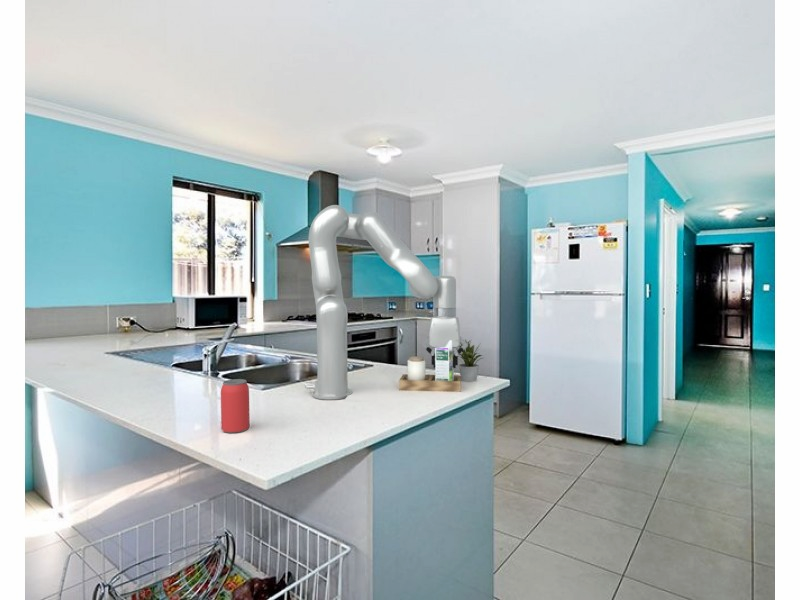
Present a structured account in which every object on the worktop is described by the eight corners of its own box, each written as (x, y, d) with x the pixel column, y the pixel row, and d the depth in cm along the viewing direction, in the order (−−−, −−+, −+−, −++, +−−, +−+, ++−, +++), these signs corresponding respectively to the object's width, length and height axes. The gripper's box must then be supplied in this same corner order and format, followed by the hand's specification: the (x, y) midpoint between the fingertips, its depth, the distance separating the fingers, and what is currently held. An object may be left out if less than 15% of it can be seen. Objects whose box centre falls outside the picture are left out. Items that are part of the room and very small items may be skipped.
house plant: (437, 380, 172) (437, 336, 171) (466, 376, 180) (466, 333, 179) (463, 388, 160) (463, 340, 159) (493, 383, 168) (493, 337, 167)
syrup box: (434, 383, 155) (434, 339, 154) (437, 379, 161) (437, 337, 160) (452, 384, 154) (452, 339, 153) (454, 380, 159) (454, 337, 159)
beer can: (225, 426, 119) (224, 378, 119) (252, 425, 120) (251, 378, 119) (217, 434, 112) (216, 384, 112) (246, 433, 113) (245, 383, 113)
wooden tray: (398, 392, 154) (398, 380, 154) (403, 385, 164) (403, 374, 164) (460, 394, 151) (460, 381, 151) (460, 387, 162) (460, 375, 162)
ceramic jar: (406, 388, 156) (406, 358, 156) (408, 384, 162) (408, 355, 162) (424, 389, 155) (424, 359, 155) (426, 385, 161) (426, 356, 161)
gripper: (417, 313, 154) (417, 368, 154) (471, 314, 151) (471, 369, 152) (419, 312, 161) (419, 364, 162) (470, 312, 159) (470, 365, 160)
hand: (444, 366), depth 157 cm, fingers closed on syrup box, 5 cm apart
